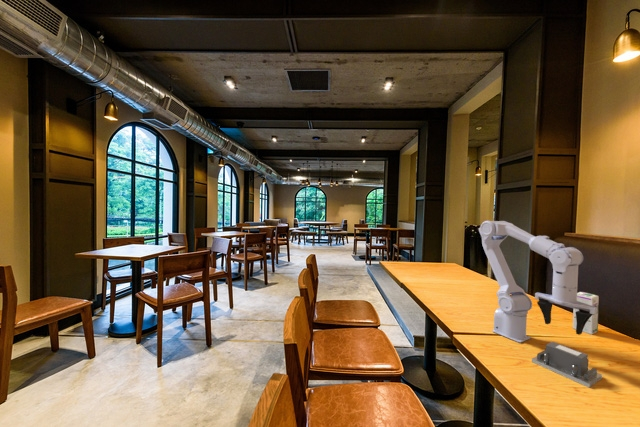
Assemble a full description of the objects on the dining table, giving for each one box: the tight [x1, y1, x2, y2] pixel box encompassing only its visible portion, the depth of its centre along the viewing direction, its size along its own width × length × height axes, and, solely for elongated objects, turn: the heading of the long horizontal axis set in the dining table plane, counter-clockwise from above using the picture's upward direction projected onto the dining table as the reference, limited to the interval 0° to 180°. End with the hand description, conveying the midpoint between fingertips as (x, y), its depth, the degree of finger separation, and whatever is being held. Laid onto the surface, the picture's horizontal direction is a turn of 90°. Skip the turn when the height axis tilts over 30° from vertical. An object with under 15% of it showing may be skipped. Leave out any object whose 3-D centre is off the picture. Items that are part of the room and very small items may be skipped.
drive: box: [545, 341, 588, 376], centre depth 77 cm, size 8×4×5 cm, turn 28°
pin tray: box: [531, 349, 603, 388], centre depth 77 cm, size 13×9×4 cm
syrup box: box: [572, 291, 600, 335], centre depth 104 cm, size 6×6×14 cm
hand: (562, 328), depth 83 cm, fingers open, 7 cm apart
